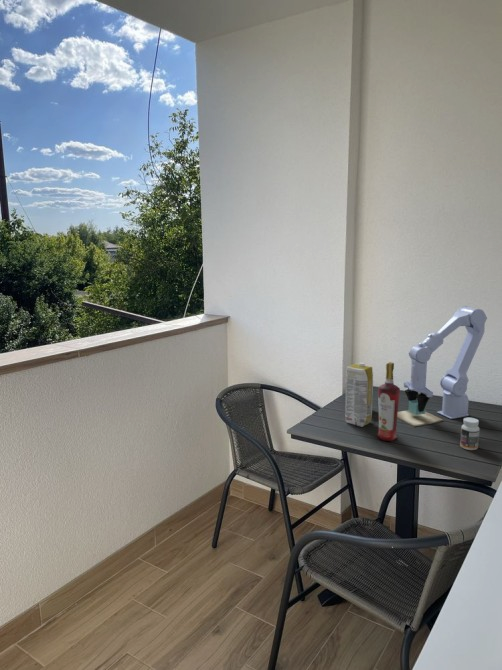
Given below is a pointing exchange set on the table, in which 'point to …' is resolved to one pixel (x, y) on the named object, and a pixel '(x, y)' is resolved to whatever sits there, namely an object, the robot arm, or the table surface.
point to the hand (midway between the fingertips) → (416, 409)
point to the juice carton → (358, 394)
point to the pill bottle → (470, 434)
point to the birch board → (417, 418)
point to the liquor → (388, 406)
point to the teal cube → (414, 408)
